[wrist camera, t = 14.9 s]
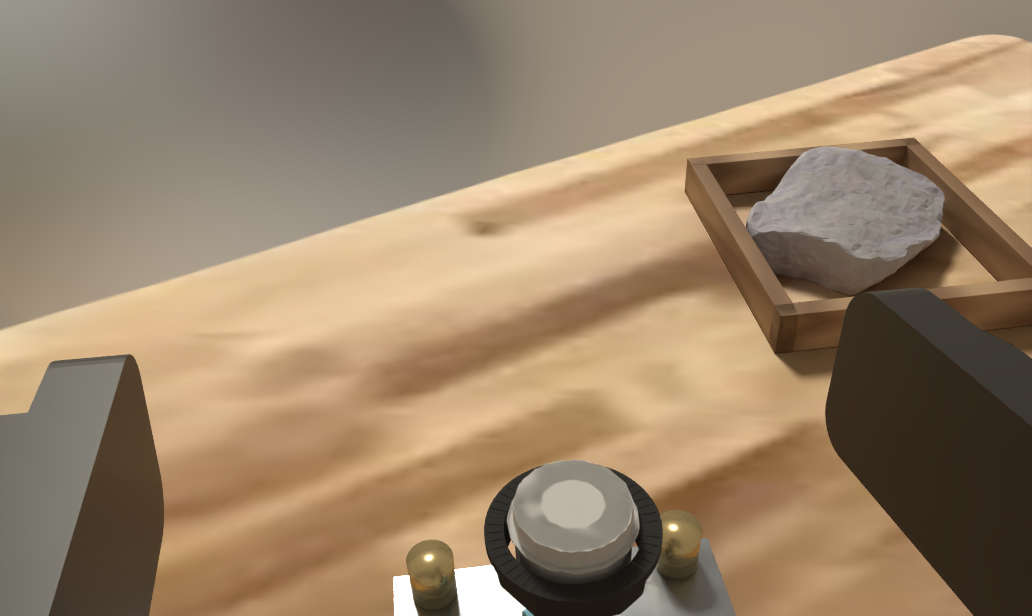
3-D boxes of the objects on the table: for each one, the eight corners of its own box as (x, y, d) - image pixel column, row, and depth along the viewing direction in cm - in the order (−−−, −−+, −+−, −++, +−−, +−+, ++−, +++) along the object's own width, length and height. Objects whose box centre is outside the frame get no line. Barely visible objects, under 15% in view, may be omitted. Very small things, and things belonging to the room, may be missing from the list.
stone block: (936, 243, 61) (797, 180, 65) (968, 186, 58) (820, 122, 61) (876, 343, 54) (723, 265, 57) (909, 284, 51) (745, 205, 54)
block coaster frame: (774, 353, 50) (780, 316, 48) (684, 191, 64) (687, 158, 63) (1056, 322, 51) (1071, 285, 49) (906, 170, 65) (914, 137, 64)
